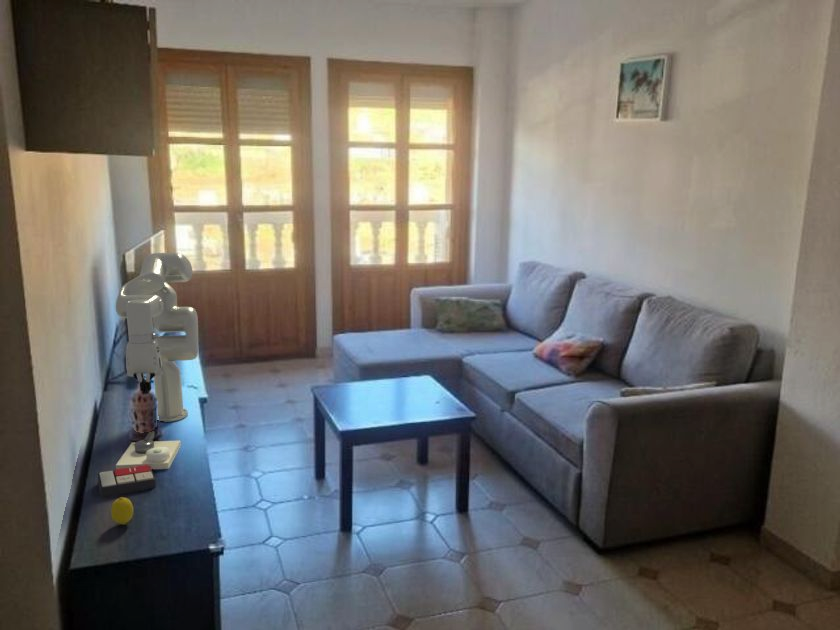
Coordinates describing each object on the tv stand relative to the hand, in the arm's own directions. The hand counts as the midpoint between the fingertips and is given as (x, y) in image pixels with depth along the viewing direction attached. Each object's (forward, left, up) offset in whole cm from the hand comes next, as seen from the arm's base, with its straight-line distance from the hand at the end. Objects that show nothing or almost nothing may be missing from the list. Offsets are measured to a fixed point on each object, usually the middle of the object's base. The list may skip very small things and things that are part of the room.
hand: (146, 392), depth 225 cm
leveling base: (+2, 0, -22) cm, 22 cm away
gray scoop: (-4, -2, -20) cm, 20 cm away
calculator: (+21, -2, -23) cm, 31 cm away
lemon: (+45, +4, -22) cm, 50 cm away
